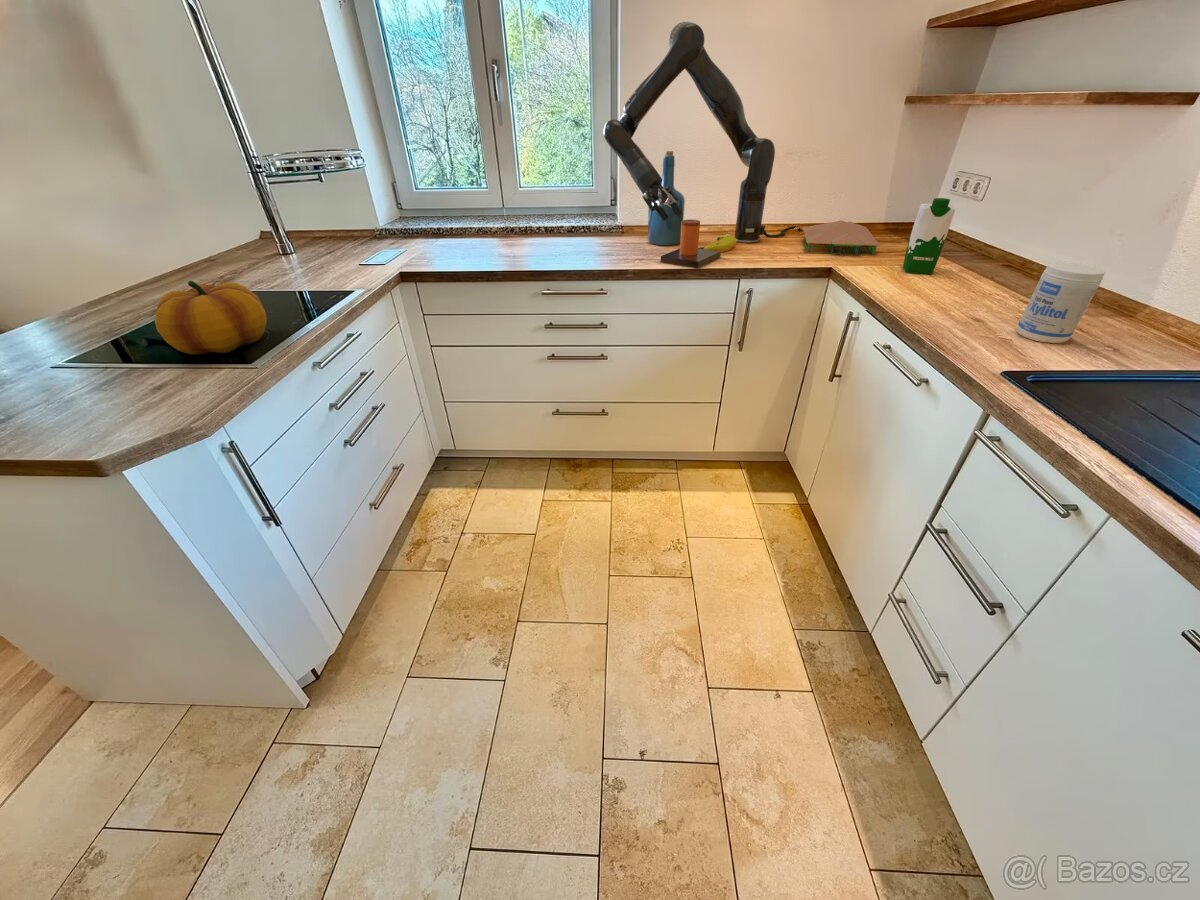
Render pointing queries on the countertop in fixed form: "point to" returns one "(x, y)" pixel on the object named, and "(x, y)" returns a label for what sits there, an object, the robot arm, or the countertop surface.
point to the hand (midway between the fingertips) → (673, 217)
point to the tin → (689, 237)
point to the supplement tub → (1059, 301)
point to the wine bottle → (670, 228)
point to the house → (840, 236)
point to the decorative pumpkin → (210, 318)
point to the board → (691, 258)
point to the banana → (722, 243)
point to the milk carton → (928, 236)
